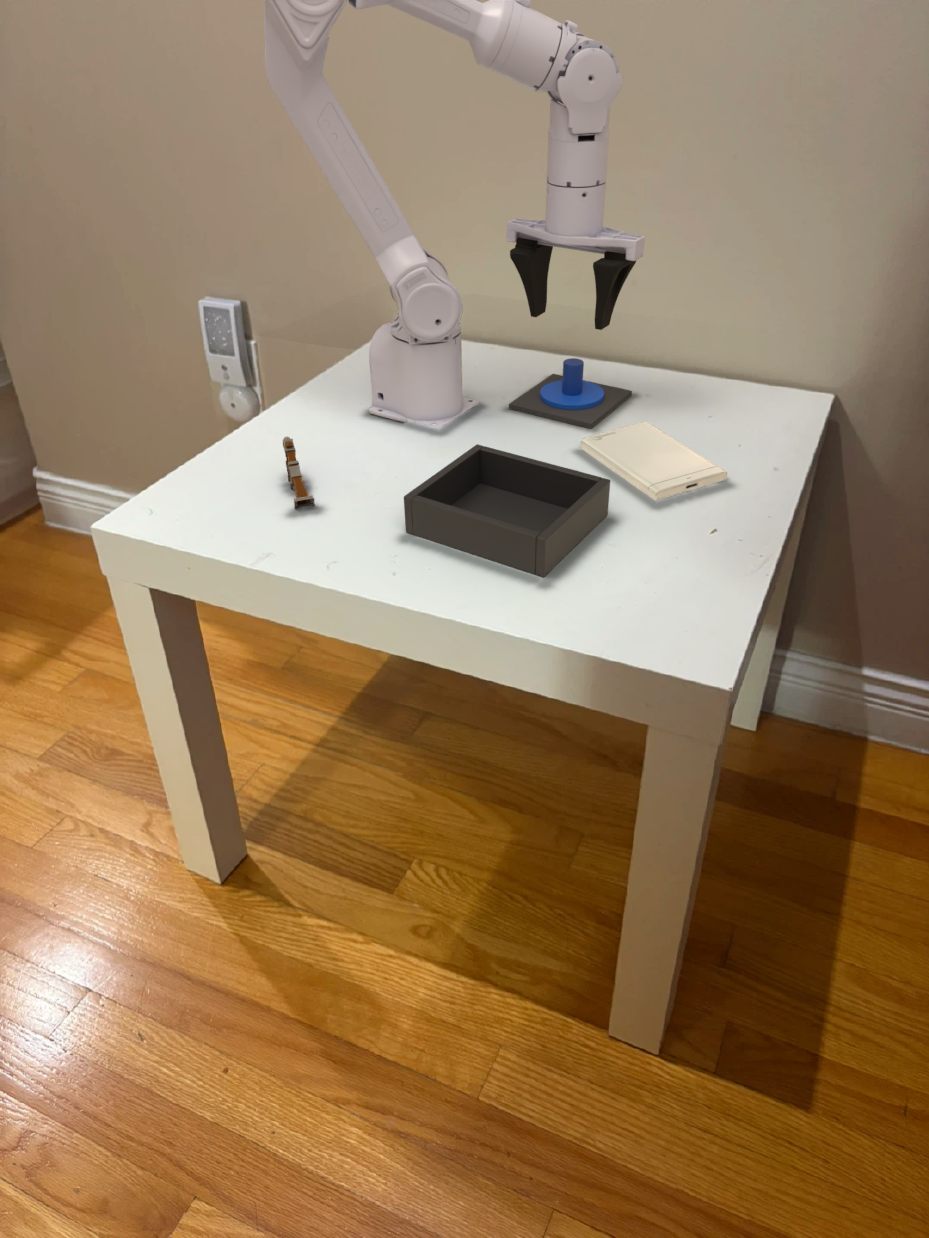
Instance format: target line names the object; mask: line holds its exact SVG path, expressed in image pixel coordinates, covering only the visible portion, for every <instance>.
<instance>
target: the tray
mask: <svg viewBox="0 0 929 1238" xmlns="http://www.w3.org/2000/svg"><path fill="white" fill-rule="evenodd" d="M610 490H611V479H609V478H605V477H602V476H598V475H594V474H591V473H587V472H583V471H579V470H575V469H572V468H568V467H565V466H560V465H557V464H552V463H549V462H546V461H541V460H537V459H534V458H532V457H531V458H530V457H527V456H523V455H519V454H515V453H512V452H508V451H503V450H500V449H496V448H493V447H490V446H485V445H481V444H478V443H477V444H475V445H474V446H473V447H471V448H469V449H468V450H467V451H466V452H464V453H462V454H461V455H459V456H458V457H456V458H455V459H454V460H452V461H451V462H450V463H448V464H447V465H445V467H443V468H441V469H440V470H439V471H437V472H436V473H434V474H433V475H432V476H430V477H429V478H428V479H425V481H423V482H422V483H420V484H419V485H418V486H416V487H415V488H413V489H411V490H410V492H408V493H407V494H405V495H404V496H403V509H404V510H403V511H404V522H405V533H406V534H409V535H412V536H414V537H418V538H421V539H423V540H427V541H430V542H433V543H435V544H439V545H441V546H445V547H448V548H451V549H454V550H456V551H457V550H458V551H460V552H463V553H467V554H469V555H472V556H475V557H479V558H481V559H485V560H488V561H491V562H494V563H497V564H499V565H504V566H507V567H509V568H512V569H515V570H518V571H522V572H524V573H527V574H531V575H534V576H536V577H540V578H542V579H545V577H546V576H547V575H548V574H550V573H551V571H553V570H554V569H555V567H557V566H558V565H559V564H560V563H561V562H562V561H563V560H564V559H565V558H567V556H568V555H569V554H570V553H571V552H572V551H573V550H574V549H575V548H576V547H578V546H579V544H580V543H581V542H582V541H583V540H585V539H586V537H588V536H589V535H590V534H591V533H592V532H594V530H595V529H596V528H597V527H598V526H599V525H600V524H601V523H602V522H603V521H604V520H605V519H606V518H607V517H608V514H609V503H610V502H609V501H610Z"/></svg>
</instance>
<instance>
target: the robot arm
mask: <svg viewBox="0 0 929 1238" xmlns="http://www.w3.org/2000/svg"><path fill="white" fill-rule="evenodd" d="M347 2H348V4H349V5H350V6H351V7H353V8H354V9H355V10H357V11H358V10H365V9H369V8H370V9H371V8H374V7H375V8H376V7H381V6H388V7H392V8H394V9H396V10H399V11H400V12H403V13H405V14H408V15H409V16H412V17H415V18H416V19H418V20H421V21H423V22H425V23H428V24H430V25H432V26H435V27H437V28H439V29H442V30H443V31H445V32H448V33H450V34H453V35H455V36H457V37H459V38H461V39H463V40H466V41H467V42H468V43H469V46H470V48H471V51H472V55H473V57H474V60H475V62H476V64H477V65H478V66H481V67H483V68H484V69H486V70H489V71H491V72H493V73H495V74H497V75H499V76H502V77H504V78H506V79H508V80H510V81H512V82H514V83H517V84H519V85H521V86H523V87H525V88H527V89H529V90H531V91H533V92H536V93H538V94H540V93H546V94H547V95H548V97H549V98H550V100H549V101H550V106H549V127H548V132H547V133H548V135H547V163H546V164H547V165H546V166H547V167H546V169H547V170H546V195H545V196H546V200H545V219H528V218H518V217H516V218H513V219H511V220H509V221H506V242H507V243H508V242H509V243H515V245H514V247H513V248H512V249H510V250H509V258H510V260H511V261H512V263H513V265H514V267H515V269H516V271H517V273H518V275H519V278H520V280H521V282H522V286H523V289H524V292H525V295H526V299H527V304H528V309H529V314H530V317H532V318H538V317H539V316H541V315H542V314H544V313H546V310H547V303H548V278H549V270H550V264H551V258H552V253H553V249H554V248H561V249H567V250H574V251H580V252H585V253H586V252H587V253H593V254H600V255H603V257H601V258H600V259H597V260H596V261H593V263H592V269H593V275H594V282H595V310H594V329H595V330H599V331H602V330H604V329H605V328H606V327H608V326H610V323H611V320H612V317H613V312H614V309H615V306H616V303H617V300H618V298H619V295H620V292H621V291H622V288H623V286H624V284H625V282H626V280H627V278H628V277H629V275H630V273H631V271H632V270H633V268H634V266H635V265H636V263H637V260H640V259H641V258H643V257H644V251H645V241H646V240H645V238H646V236H645V235H640V234H635V233H630V232H626V231H623V230H620V229H616V228H612V227H609V226H604V218H605V217H604V216H605V202H606V201H605V200H606V184H607V171H608V170H607V169H608V155H609V140H610V115H611V106H612V104H613V103H614V102H615V100H616V99H617V97H618V95H619V93H620V91H621V88H622V84H623V75H621V74H620V67H619V62H618V59H617V57H616V56H615V55H614V52H613V50H612V49H611V48H610V47H609V46H608V45H607V44H605V43H603V42H602V41H599V40H595V39H592V38H589V37H586V36H585V34H584V33H582V32H577V31H578V29H579V25H578V24H577V23H575V22H573V21H571V20H568V19H566V20H565V21H564V23H563V22H562V23H561V22H560V21H557V20H555V19H554V18H552V17H550V16H547V15H545V14H544V13H542V12H540V11H537V10H536V9H534V8H532V7H531V3H532V0H486V1H484V2H480V1H478V0H263V23H264V24H263V27H264V31H263V32H264V33H263V35H264V71H265V78H266V80H267V82H268V84H269V87H270V89H271V90H272V92H273V93H274V95H275V97H276V98H277V100H278V102H279V104H280V105H281V106H282V108H283V110H284V112H285V113H286V115H287V116H288V118H289V119H290V121H291V123H292V125H293V126H294V128H295V130H296V131H297V132H298V135H299V136H300V138H301V139H302V141H303V143H304V144H305V146H306V147H307V149H308V151H309V152H310V155H312V157H313V159H314V160H315V162H316V164H317V166H318V167H319V169H320V171H321V172H322V173H323V176H324V177H325V179H326V180H327V182H328V183H329V185H330V186H331V188H332V190H333V192H334V193H335V195H336V196H337V198H338V200H339V201H340V203H341V206H343V208H344V210H345V211H346V213H347V215H348V216H349V218H350V219H351V221H352V223H353V224H354V226H355V227H356V229H357V231H358V232H359V234H360V236H361V237H362V239H363V241H364V243H365V244H366V246H367V247H368V249H369V250H370V252H371V254H372V255H373V257H374V259H375V261H376V263H377V264H378V266H379V268H380V270H381V272H382V273H383V276H384V278H385V280H386V281H387V283H388V285H389V292H390V295H391V297H392V300H393V301H394V303H395V306H396V308H397V311H398V313H397V314H396V316H395V317H394V319H393V322H385V323H383V324H382V325H380V327H378V328H377V330H376V331H375V332H374V334H373V336H372V338H371V341H370V345H369V351H368V358H369V359H368V361H369V363H368V364H369V376H370V385H371V387H370V388H371V400H372V406H370V407H369V408H368V413H369V414H371V415H375V416H378V417H382V418H386V419H391V420H393V421H396V422H397V421H398V422H400V423H407V422H411V423H416V424H418V425H423V426H426V427H431V428H434V429H441V428H443V427H444V426H446V425H448V424H449V423H451V422H452V421H453V420H455V419H457V418H458V417H459V416H462V415H463V414H464V413H466V412H467V411H469V410H470V409H472V408H473V407H475V406H479V404H480V402H479V401H478V400H476V399H473V398H472V399H471V398H467V397H463V396H464V395H463V357H462V356H463V355H462V354H463V353H462V324H461V323H460V322H461V319H462V316H463V311H464V309H463V299H462V296H461V294H460V292H459V291H458V289H457V288H456V286H455V285H454V284H453V283H452V281H451V279H450V277H449V273H448V270H447V268H446V267H445V265H444V264H443V262H442V261H441V260H440V259H439V258H438V257H436V256H434V255H433V254H431V253H429V252H428V250H426V249H425V248H424V246H423V245H422V243H421V242H420V240H419V238H418V237H417V235H416V234H415V232H414V230H413V229H412V227H411V225H410V224H409V222H408V219H406V218H407V217H405V215H404V213H403V211H402V209H401V208H400V206H399V204H398V202H397V201H396V198H395V197H394V195H393V194H392V192H391V190H390V189H389V187H388V185H387V183H386V181H385V180H384V178H383V177H382V174H381V173H380V171H379V170H378V168H377V166H376V164H375V163H374V161H373V159H372V157H371V156H370V154H369V152H368V150H367V149H366V147H365V145H364V143H363V141H362V140H361V138H360V137H359V135H358V132H357V131H356V129H355V128H354V126H353V124H352V122H351V121H350V119H349V118H348V115H347V114H346V112H345V110H344V108H343V107H342V105H341V103H340V102H339V100H338V98H337V96H336V95H335V93H334V91H333V89H332V88H331V86H330V84H329V83H328V81H327V79H326V77H325V75H324V74H323V69H324V63H325V60H326V55H327V51H328V47H329V46H328V45H329V40H330V33H331V31H332V30H333V27H334V26H335V24H336V22H337V21H338V19H339V17H340V16H341V13H342V12H343V10H344V8H345V7H346V5H347Z"/></svg>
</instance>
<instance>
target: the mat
mask: <svg viewBox="0 0 929 1238" xmlns="http://www.w3.org/2000/svg"><path fill="white" fill-rule="evenodd" d="M562 379H563V374H557V373H552V374H550V375H549V376H547V377H546V378H544V379H543V380H541V381H540V382H539V383H537V384H536V385H534V386H533V387H531V388H530V389H528V390H527V391H526V392H524V393H522V395H519V397H517V398H515V399H514V400H512V401H511V402H509V404H508V409H509V410H511V411H512V410H513V411H516V412H520V413H525V414H529V415H533V416H537V417H542V418H546V419H550V420H553V421H558V422H562V423H566V424H570V425H575V426H578V427H579V426H580V427H583V428H587V429H593V428H594V427H595V426H596V425H598V424H599V423H600V422H601V421H602V420H604V419H605V418H606V417H607V416H609V415H610V414H612V413H613V412H614V411H615V410H616V409H617V408H619V407H620V406H621V405H622V404H623V403H624V402H626V401H627V400H628V399H629V398H631V397H632V396H633V391H632V390H630V389H625V388H621V387H617V386H612V385H608V384H603V383H599V382H593V381H588V380H584V379H583V381H587V382H591V383H594V384H596V385H598V386H600V387H601V388H602V389H603V391H604V399H603V401H602V402H601V403H600V404H599V405H597V406H595V407H592V408H588V409H581V410H565V409H559V408H554V407H551V406H549V405H547V404H545V403H544V402H543V401H542V400H541V399H540V390H541V388H542V387H543V386H545V385H546V384H548V383H551V382H554V381H560V380H562Z"/></svg>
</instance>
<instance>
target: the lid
mask: <svg viewBox="0 0 929 1238" xmlns="http://www.w3.org/2000/svg"><path fill="white" fill-rule="evenodd" d="M584 365H585V362H584V360H583V359H581V358H574V357H573V358H572V357H571V358H566V359H564V360H563V362H562V376H563V379H562V380H560V381H554V382H551V383H548V384H546V385H545V386H543V387H542V388H541V390H540V399H541V400H542V401H543V402H544V403H545V404H547V405H549V406H551V407H554V408H559V409H565V410H581V409H588V408H592V407H595V406H597V405H599V404H600V403H601V402H602V401H603V399H604V391H603V389H602V388H601V387H600V386H598V385H596V384H594V383H595V382H594V383H591V382H592V381H589V382H587V381H588V380H585V381H583V380H584Z"/></svg>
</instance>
